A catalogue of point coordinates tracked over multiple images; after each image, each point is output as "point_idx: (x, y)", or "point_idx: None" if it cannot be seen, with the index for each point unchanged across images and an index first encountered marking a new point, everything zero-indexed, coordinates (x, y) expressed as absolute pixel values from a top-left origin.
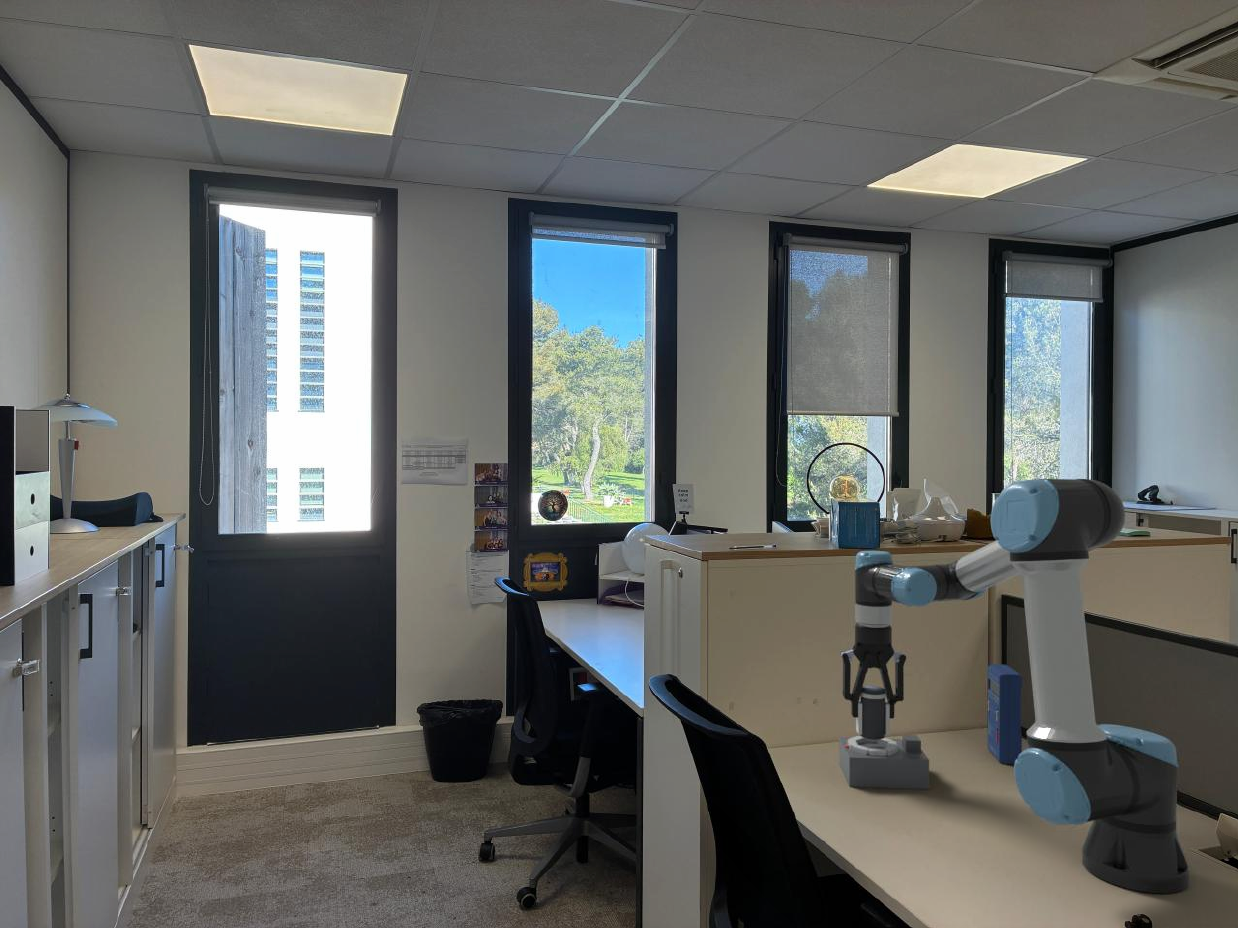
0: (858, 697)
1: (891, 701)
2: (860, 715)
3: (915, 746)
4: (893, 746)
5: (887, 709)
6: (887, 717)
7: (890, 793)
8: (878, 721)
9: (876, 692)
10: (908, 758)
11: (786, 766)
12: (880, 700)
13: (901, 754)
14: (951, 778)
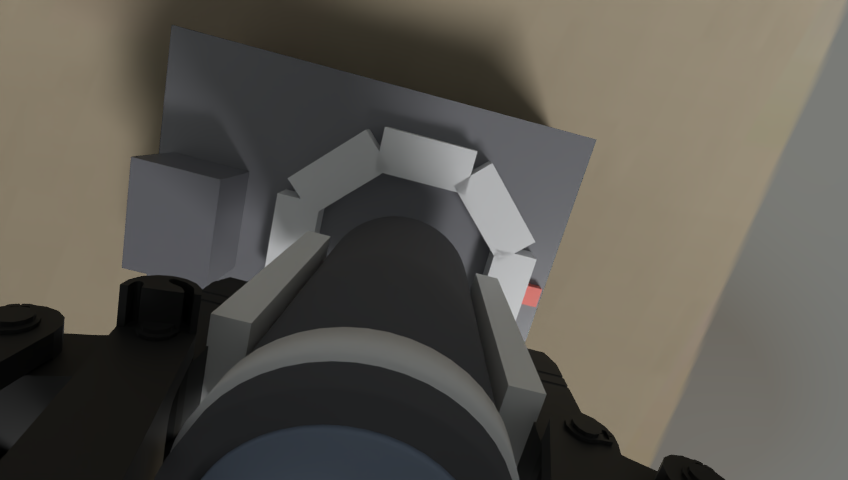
0: (562, 449)
1: (168, 325)
2: (505, 328)
3: (185, 161)
4: (307, 197)
5: (257, 295)
6: (282, 271)
7: (424, 29)
8: (376, 247)
9: (355, 385)
10: (281, 64)
11: (685, 370)
12: (316, 323)
13: (292, 137)
14: (104, 148)
